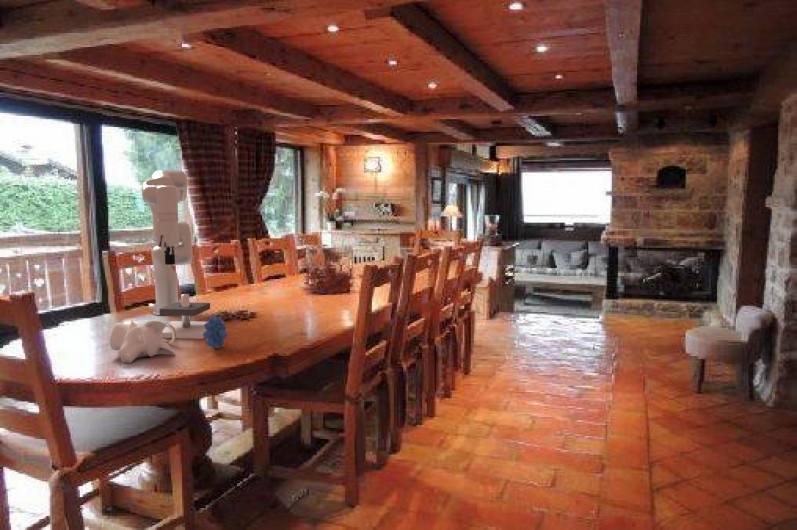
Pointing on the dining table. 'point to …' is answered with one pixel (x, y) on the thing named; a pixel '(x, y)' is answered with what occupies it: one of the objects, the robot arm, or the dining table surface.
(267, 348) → the dining table surface
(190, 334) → the stand plate
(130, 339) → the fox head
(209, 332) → the grapes
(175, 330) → the ring
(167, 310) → the square hole plate
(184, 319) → the glossy pinkish cylinder
